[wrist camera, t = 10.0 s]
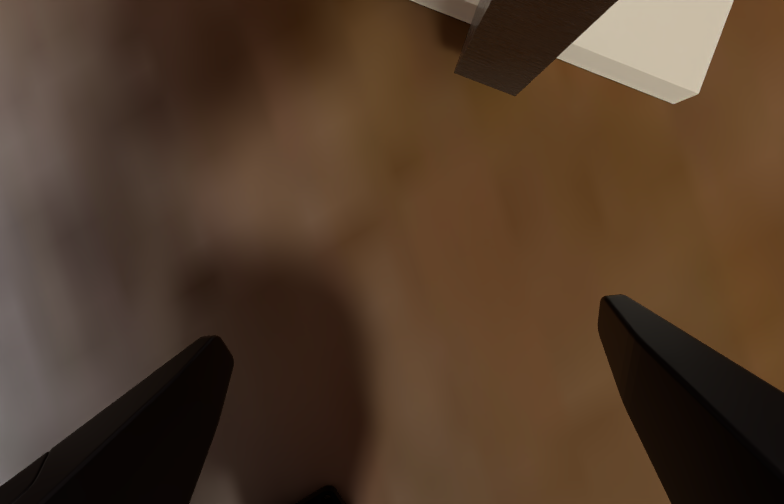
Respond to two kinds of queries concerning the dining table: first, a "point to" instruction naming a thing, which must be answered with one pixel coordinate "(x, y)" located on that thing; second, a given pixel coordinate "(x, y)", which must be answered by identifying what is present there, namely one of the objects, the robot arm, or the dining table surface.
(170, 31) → the dining table surface
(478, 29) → the grey block
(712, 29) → the white mounting stand
